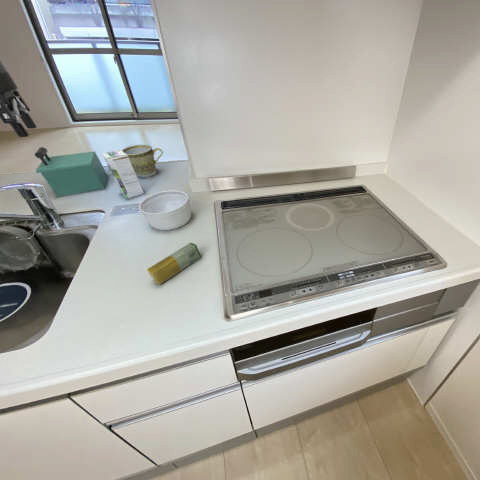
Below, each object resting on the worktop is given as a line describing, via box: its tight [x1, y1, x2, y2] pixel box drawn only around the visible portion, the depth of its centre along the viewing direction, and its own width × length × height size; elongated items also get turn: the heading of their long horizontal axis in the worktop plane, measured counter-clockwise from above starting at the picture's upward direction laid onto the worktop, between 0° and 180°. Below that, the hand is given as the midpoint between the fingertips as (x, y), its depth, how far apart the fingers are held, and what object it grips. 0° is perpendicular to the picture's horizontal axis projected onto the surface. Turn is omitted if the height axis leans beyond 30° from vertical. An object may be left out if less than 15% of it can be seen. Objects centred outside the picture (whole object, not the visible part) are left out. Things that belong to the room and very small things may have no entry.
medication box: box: [146, 242, 202, 285], centre depth 64 cm, size 12×3×4 cm, turn 148°
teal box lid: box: [34, 146, 97, 174], centre depth 88 cm, size 14×12×5 cm
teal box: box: [40, 153, 108, 197], centre depth 92 cm, size 14×12×9 cm
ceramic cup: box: [121, 144, 164, 178], centre depth 101 cm, size 13×10×10 cm
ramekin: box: [138, 189, 192, 231], centre depth 78 cm, size 13×13×7 cm
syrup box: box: [102, 149, 145, 200], centre depth 87 cm, size 6×6×14 cm
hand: (28, 132), depth 81 cm, fingers open, 8 cm apart
